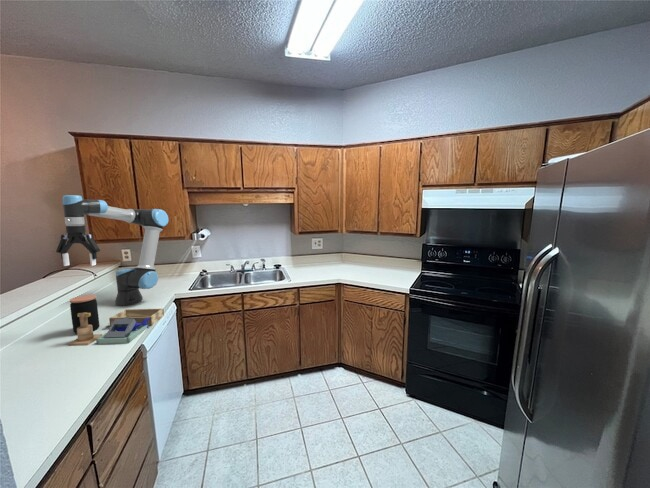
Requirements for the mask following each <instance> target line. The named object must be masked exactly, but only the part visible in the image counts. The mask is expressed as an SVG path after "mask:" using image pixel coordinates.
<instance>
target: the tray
mask: <svg viewBox="0 0 650 488" xmlns="http://www.w3.org/2000/svg"><path fill="white" fill-rule="evenodd" d="M147 326H148V325H146V326H142V325H140V326H139V327H137V329H136V330H134V331H131V333H130V335H129V337H128V338H105V336H106V334H107V332H106V333H104V334H102V336H101V337H99V338H97V339H96V340H95V341H96V342H95V343H96V345H109V344H111V345H114V344H117V345H119V344H131V342H132V341H133V340H135V339H136V338H137V337H139V336H140V335H141V334H142V333H143V332H145V331H146V330H147V329H148V328H147ZM148 327H149V326H148ZM115 331H116V330H115Z"/></svg>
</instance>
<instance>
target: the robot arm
mask: <svg viewBox="0 0 650 488" xmlns="http://www.w3.org/2000/svg"><path fill="white" fill-rule="evenodd" d="M62 209H63V215H64V223H65V225H66V226H65V233H66V234H60V241H59V243H58V246H57V248H56V253H59V254H60V255H61V257H60V258H61V260H62V262H63V267H67V266H70V263H71V262H70V258H69V257H70V256H69V253H68V251H69V250H70V249H71V247H72V246H73V245H74V244H80V245H82V246H84V248H86V249H87V251H89V252H90V253H88V255H89V261H90V266H91V267H93V266H96V265H97V258H98V257H97V253H99V252H100V251H101V249H100V247H99V246H98V245H97V243H96V241H95V240H94V238H93V234H89V233H88V234H86V231H87V230H86V226H85V224H86V222H85V221H86V220H85V215H86V216H92V217H98V218H104V219H109V220H110V219H112V220H118V221H124V222H126V223H127V224H128V223H129V224H133V225H139V226H142V228H144V235H143V238H142V239H143V240H142V244H141V251H140V255H139V260H138V261H139V262H138V265H137V266H134V267H128V268H122V269H118V270H117V271H116V272H115V280H116V288H117V294H116V297H115V305H116V306H121V307H122V306H131V305H134V304H135V305H136V304H138V303H141V302H142V301H143V299H144V298H143V296H142V293H141V291H140V290H149V289H153V287H155V286H156V285H157V283H158V281H159V275H158V272H156V268H155V261H156V257H157V250H158V245H159V240H160V233H161V232H162V231H163V230H164V227H166V226H167V225H168V223H169V219H170V218H169V215H168V214H167V212H166V211H165V210H164V209H159V208H151V209H150V208H144V209H143V208H142V209H141V208H140V209H139V208H138V209H137V208H136V209H133V208H128V209H125V208H119V207H115V206H110V205H108V203H107V202H106V201H105V200H103V199H102V200H101V199H83V197H82V195H76V194H73V195H71V194H69V195H68V194H66V195H65V194H64V195H63V196H62Z"/></svg>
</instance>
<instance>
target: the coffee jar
mask: <svg viewBox="0 0 650 488" xmlns="http://www.w3.org/2000/svg"><path fill="white" fill-rule="evenodd" d="M69 303H70V304H69V305H70V307H69V308H70V315H71V324H72V331H73V333H74V334H76V335H77V328H78V327H80V318H79V317H78V315H77V314H78V313H83V312H87V313H91V316H89V317H87V319H88V325H92V327H93V332H95V331H97V330H98V329H99V328H100V318H99V309H98V301H97V295H95V294H84V295H80V296H75V297H72V298H70V299H69Z"/></svg>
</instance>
